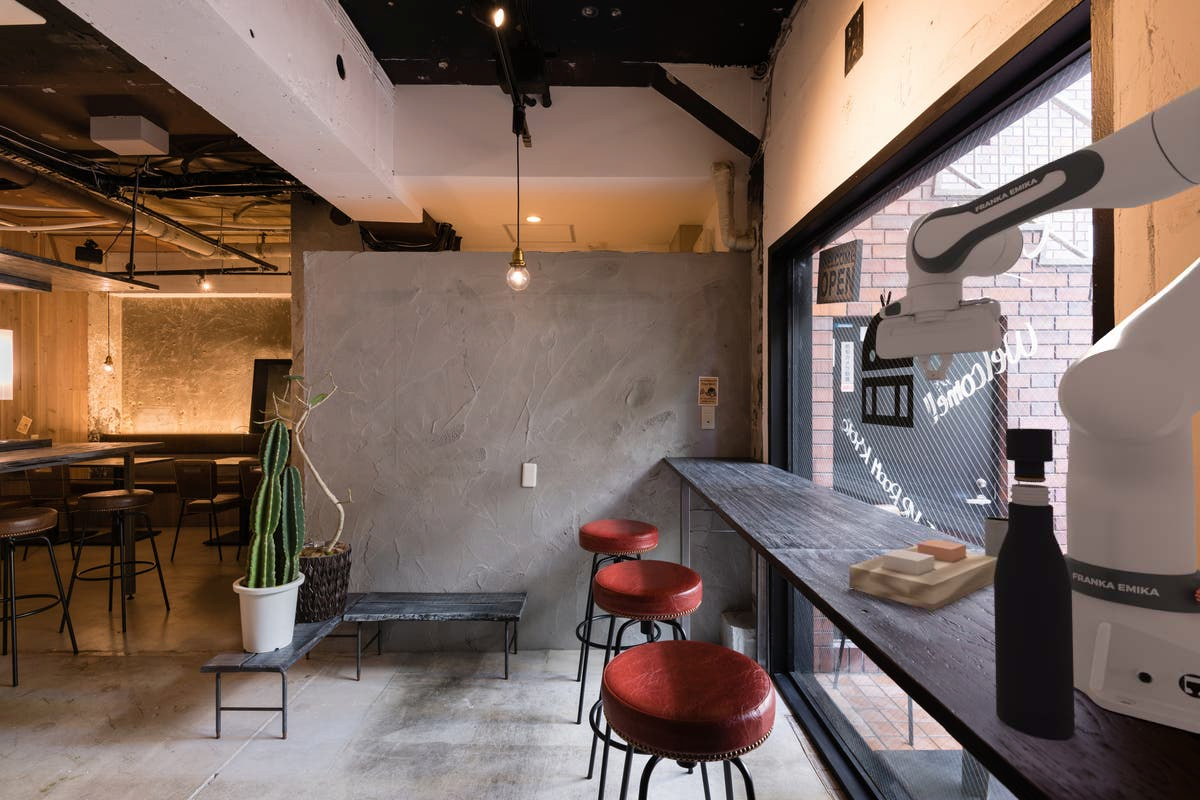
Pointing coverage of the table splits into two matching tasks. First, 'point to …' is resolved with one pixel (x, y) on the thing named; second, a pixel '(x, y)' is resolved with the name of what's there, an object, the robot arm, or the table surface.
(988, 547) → the planter
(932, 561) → the beige block
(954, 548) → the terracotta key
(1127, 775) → the table surface
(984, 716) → the table surface
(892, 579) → the light brown flat block
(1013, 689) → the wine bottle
